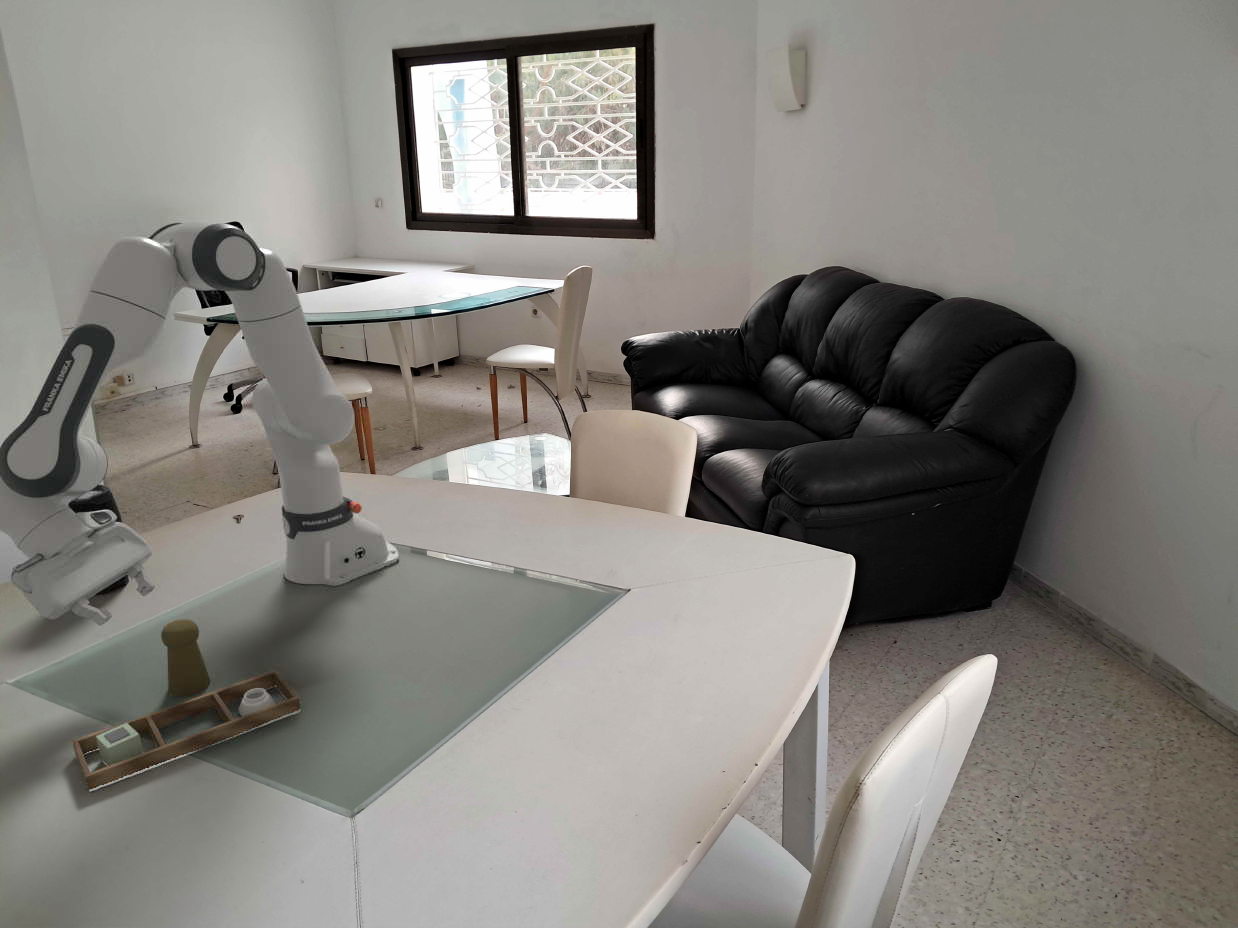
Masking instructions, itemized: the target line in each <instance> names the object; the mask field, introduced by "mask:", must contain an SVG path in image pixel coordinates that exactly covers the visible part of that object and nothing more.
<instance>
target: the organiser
mask: <svg viewBox="0 0 1238 928" xmlns="http://www.w3.org/2000/svg"><path fill="white" fill-rule="evenodd" d="M275 685H276V686H277V687H276V688H278V689H279V690H280V691H281V692H282V694H283V695H284V696H285V697H286V698H287V700H286V699H285V700H283V701H280V702H278V703H275V704H274V705H272V706H269V707H266V708H264V709H261V710H258V711H256V712H253V713H250V714H247V715H245V716H239V717H236V718H235V717H234V716H233V714H232V713H231V712H230V710H229V708H228V707H227V706H226V705H228V704H230V702H231V703H233V701H234V702H236V700H237V701H239V700H241V699H240V698H242V699H243V698H244V694H245V693H246V692H247V691H249V690H251V689H255V688H262V689H264V690H265V689H267V690H269V689H268V688H270V689H272V688H271V687H273V688H275V687H274V686H275ZM278 689H277V690H278ZM279 690H278V691H279ZM265 691H266V690H265ZM280 691H279V692H280ZM281 692H280V693H281ZM282 694H281V695H282ZM283 695H282V696H283ZM284 696H283V697H284ZM285 697H284V698H285ZM238 699H239V700H238ZM300 699H301V698H300V696H299V695H298V694H297V693H296V692H295V691H294V689H293V688H292V687H291V685H290V684H289V683H288V682H287V681H286V679H285V678H284V677H283V676H282V675H281V673H280V672H279V671H278V670H277V669H274V670H271V671H268V672H266V673H262V674H260V675H256V676H255V677H251V678H249V679H245V680H243V681H240V682H236V683H234V684H231V685H229V686H225V687H222V688H219V689H217V690H214V691H211V692H208V693H205V694H202V695H200V696H197V697H194V698H191V699H188V700H186V701H181V702H178V703H176V704H174V705H171V706H168V707H165V708H161V709H160V710H157V711H154V712H150V713H148V714H144V715H142V716H139V717H136V718H133V719H130V720H128V721H124V722H121V723H118V724H116V725H114V726H113V725H112V726H111V727H108V728H104V729H101V730H99V731H96V732H92V733H90V734H87V735H83V736H81V737H78V738H76V739H73V740H72V746H73V750H74V753H75V754H74V755H75V757H77V758H76V760H77V763H78V762H79V763H78V765H80V766H79V768H80V771H81V770H82V771H81V773H83V774H82V776H83V779H84V778H85V779H84V781H86V782H85V784H86V783H87V784H86V787H87V786H88V787H87V789H89V790H90V789H93V788H96V787H98V786H100V785H104V784H107V783H109V782H112V781H115V780H118V779H119V778H123V777H124V776H127V775H131V774H133V773H135V772H138V771H141V770H143V769H145V768H149V767H150V766H153V765H157V764H159V763H162V762H165V761H167V760H170V759H172V758H176V757H178V756H180V755H184V754H187V753H189V752H193V751H196V750H199V749H202V748H205V747H207V746H210V745H212V744H215V743H217V742H219V741H222V740H225V739H227V738H230V737H233V736H235V735H238V734H240V733H243V732H244V731H248V730H251V729H252V728H255V727H258V726H260V725H262V724H264V723H267V722H269V721H271V720H274V719H277V718H280V717H282V716H284V715H287V714H290V713H293V712H295V711H298V710H299V709H301V710H302V708H301V701H300ZM227 703H228V704H227ZM210 709H211V710H214V709H215V711H216V710H217V711H216V712H217V714H218V713H219V714H218V715H219V717H220V716H221V717H220V718H221V720H222V719H223V720H222V721H223V723H221V724H218V725H216V726H213V727H210V728H207V729H204V730H201V731H199V732H196V733H194V734H191V735H188V736H186V737H184V738H180V739H177V740H174V741H171V742H170V743H167V744H166V743H165V742H166V741H164V739H163V737H162V735H161V733H160V731H159V729H161V728H164V727H166V726H170V725H172V724H175V723H178V722H180V720H181V721H183V720H182V719H184V720H186V719H189V718H191V716H192V717H194V715H195V716H196V715H201V714H203V713H206V712H208V710H209V711H211V710H210ZM205 711H206V712H205ZM202 712H203V713H202ZM188 717H189V718H188ZM185 718H186V719H185ZM177 721H178V722H177ZM224 722H225V723H224ZM125 723H128V724H129V725H130V726H131V727H132V728H133V729H134V730H135V731H136V732H137V733H138V734H139V736H141V735H144V734H148V733H149V735H150V737H151V739H152V740H153V743H154V745H155V744H156V745H155V747H156V746H157V747H156V748H153V749H151V750H148V751H146V752H143V753H142V754H139V755H137V756H134V757H131V758H129V759H126V760H123V761H121V762H118V763H115V764H113V765H110V766H103V768H99V769H97V770H94V771H92V772H91V771H90V769H89V766H88V763H87V761H86V758H85V755H83V754H85V753H87V752H89V751H93V750H96V749H98V744H97V739H96V736H98V735H100V734H102V733H104V732H107V731H109V730H111V729H113V728H116V727H118V726H120V725H123V724H125ZM169 724H170V725H169ZM89 790H88V791H89Z"/></svg>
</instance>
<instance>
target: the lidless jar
mask: <svg viewBox="0 0 1238 928" xmlns="http://www.w3.org/2000/svg"><path fill="white" fill-rule="evenodd" d="M239 704H240V705H239V707H238V713H239V715H240V717H242V716H245V715H247V714H250V713H253V712H256V711H258V710H261V709H264V708H266V707H269V706H272V705H274V704H276V701H275V699H274V698H273V697H272V696H271V695H270V694H269V693H268V692H267V690H264V689H262V688H255V689H251V690H249V691H247V692H246V693H245V694H244V698H242V699H241V702H240V703H239Z"/></svg>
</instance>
